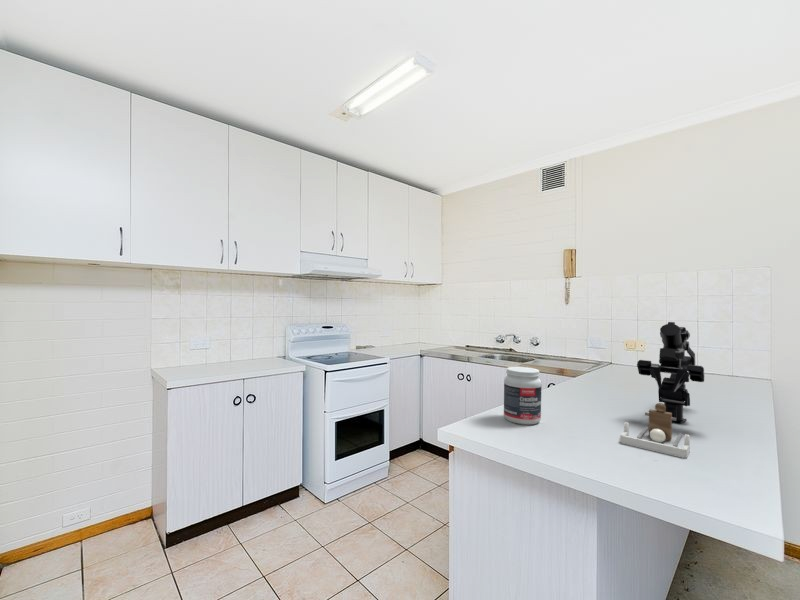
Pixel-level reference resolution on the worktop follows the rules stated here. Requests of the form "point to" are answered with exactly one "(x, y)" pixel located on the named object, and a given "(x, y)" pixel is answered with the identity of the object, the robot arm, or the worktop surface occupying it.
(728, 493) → the worktop surface
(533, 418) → the supplement tub
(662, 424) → the figure
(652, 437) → the ball
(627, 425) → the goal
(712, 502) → the worktop surface
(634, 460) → the worktop surface
